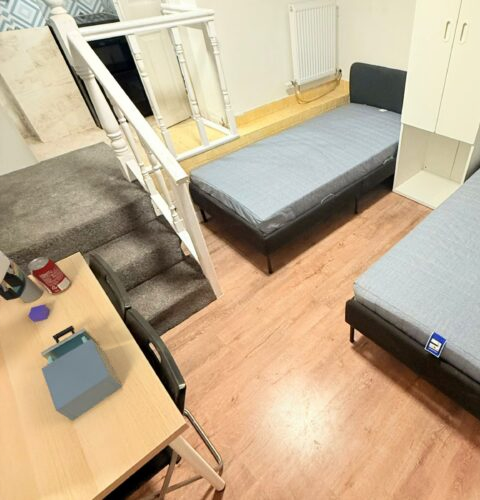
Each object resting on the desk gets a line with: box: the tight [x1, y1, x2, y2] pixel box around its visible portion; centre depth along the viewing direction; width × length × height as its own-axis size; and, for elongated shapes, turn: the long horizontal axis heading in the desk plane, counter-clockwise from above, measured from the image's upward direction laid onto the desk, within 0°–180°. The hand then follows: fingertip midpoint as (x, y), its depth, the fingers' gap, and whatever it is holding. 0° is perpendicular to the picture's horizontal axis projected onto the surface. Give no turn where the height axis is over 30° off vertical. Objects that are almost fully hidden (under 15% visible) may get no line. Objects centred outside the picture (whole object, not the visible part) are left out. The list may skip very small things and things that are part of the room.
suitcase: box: [41, 339, 123, 422], centre depth 84 cm, size 14×12×9 cm
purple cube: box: [27, 304, 51, 323], centre depth 103 cm, size 4×4×3 cm
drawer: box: [40, 325, 99, 364], centre depth 90 cm, size 19×11×7 cm, turn 43°
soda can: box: [27, 256, 71, 295], centre depth 108 cm, size 7×7×12 cm
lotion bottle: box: [2, 258, 43, 303], centre depth 103 cm, size 6×6×20 cm
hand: (15, 291), depth 96 cm, fingers open, 4 cm apart
